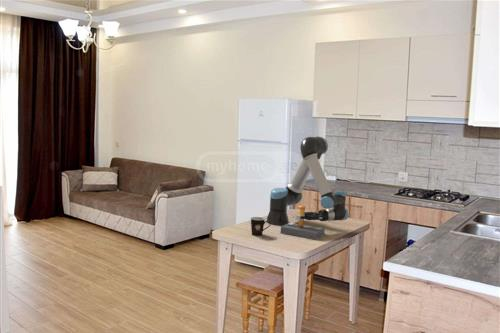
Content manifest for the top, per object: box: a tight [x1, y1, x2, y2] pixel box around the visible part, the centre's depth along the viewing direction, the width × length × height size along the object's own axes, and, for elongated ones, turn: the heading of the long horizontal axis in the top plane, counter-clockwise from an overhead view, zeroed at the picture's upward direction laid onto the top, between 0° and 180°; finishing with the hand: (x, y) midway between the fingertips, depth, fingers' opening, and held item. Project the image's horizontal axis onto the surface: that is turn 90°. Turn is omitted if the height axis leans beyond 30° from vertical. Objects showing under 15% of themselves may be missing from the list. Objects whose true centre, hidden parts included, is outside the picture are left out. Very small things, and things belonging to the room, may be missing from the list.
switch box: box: [280, 222, 326, 241], centre depth 278 cm, size 24×14×4 cm, turn 62°
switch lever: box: [297, 205, 306, 228], centre depth 278 cm, size 4×4×16 cm
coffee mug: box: [250, 216, 271, 237], centre depth 271 cm, size 12×9×10 cm
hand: (293, 216), depth 276 cm, fingers closed on switch lever, 4 cm apart
